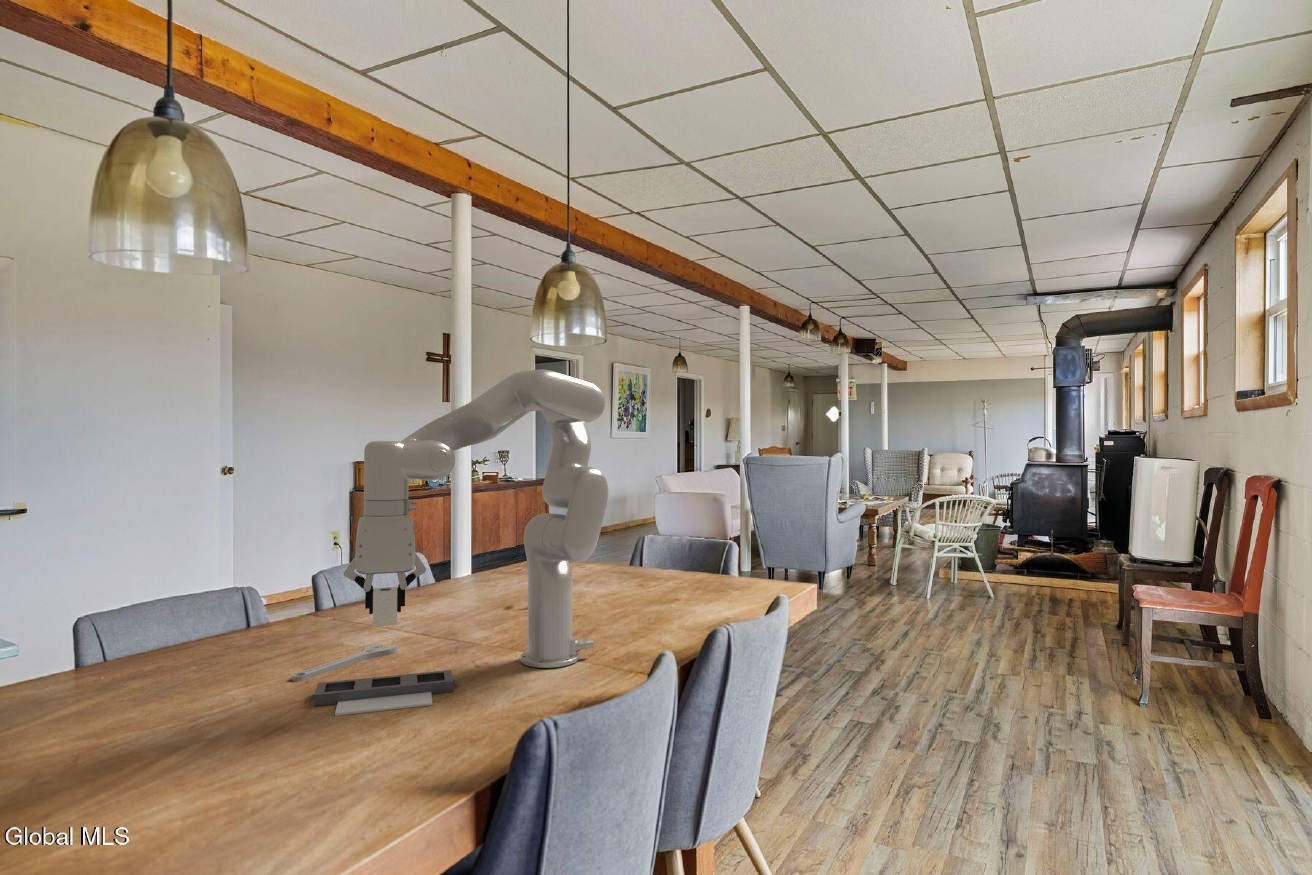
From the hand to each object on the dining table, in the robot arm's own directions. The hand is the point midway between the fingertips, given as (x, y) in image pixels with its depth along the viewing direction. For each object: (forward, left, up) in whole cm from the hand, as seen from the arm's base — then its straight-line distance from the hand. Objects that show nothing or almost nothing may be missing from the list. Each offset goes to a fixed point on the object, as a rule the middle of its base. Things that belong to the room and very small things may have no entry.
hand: (385, 610), depth 130 cm
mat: (0, 0, -17) cm, 17 cm away
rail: (0, -7, -17) cm, 18 cm away
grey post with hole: (0, 0, -2) cm, 2 cm away
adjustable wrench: (+9, -29, -17) cm, 35 cm away
